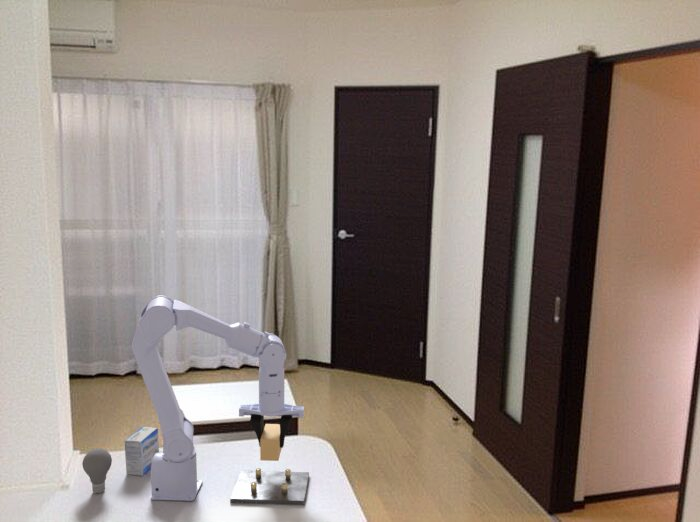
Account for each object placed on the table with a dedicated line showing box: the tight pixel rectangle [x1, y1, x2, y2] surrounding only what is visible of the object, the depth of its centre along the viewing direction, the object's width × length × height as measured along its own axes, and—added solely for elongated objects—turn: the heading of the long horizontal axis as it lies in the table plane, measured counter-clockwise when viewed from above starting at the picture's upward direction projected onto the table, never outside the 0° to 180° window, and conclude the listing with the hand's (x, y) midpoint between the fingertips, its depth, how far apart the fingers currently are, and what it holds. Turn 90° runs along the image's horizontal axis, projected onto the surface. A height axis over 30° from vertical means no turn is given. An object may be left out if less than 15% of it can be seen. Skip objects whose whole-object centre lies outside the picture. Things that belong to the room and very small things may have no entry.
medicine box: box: [124, 426, 160, 477], centre depth 148 cm, size 8×4×9 cm, turn 168°
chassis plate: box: [229, 467, 310, 506], centre depth 140 cm, size 16×12×3 cm
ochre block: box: [259, 423, 283, 462], centre depth 142 cm, size 4×8×5 cm, turn 179°
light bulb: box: [82, 447, 113, 494], centre depth 137 cm, size 6×6×10 cm
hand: (271, 445), depth 142 cm, fingers closed on ochre block, 4 cm apart
